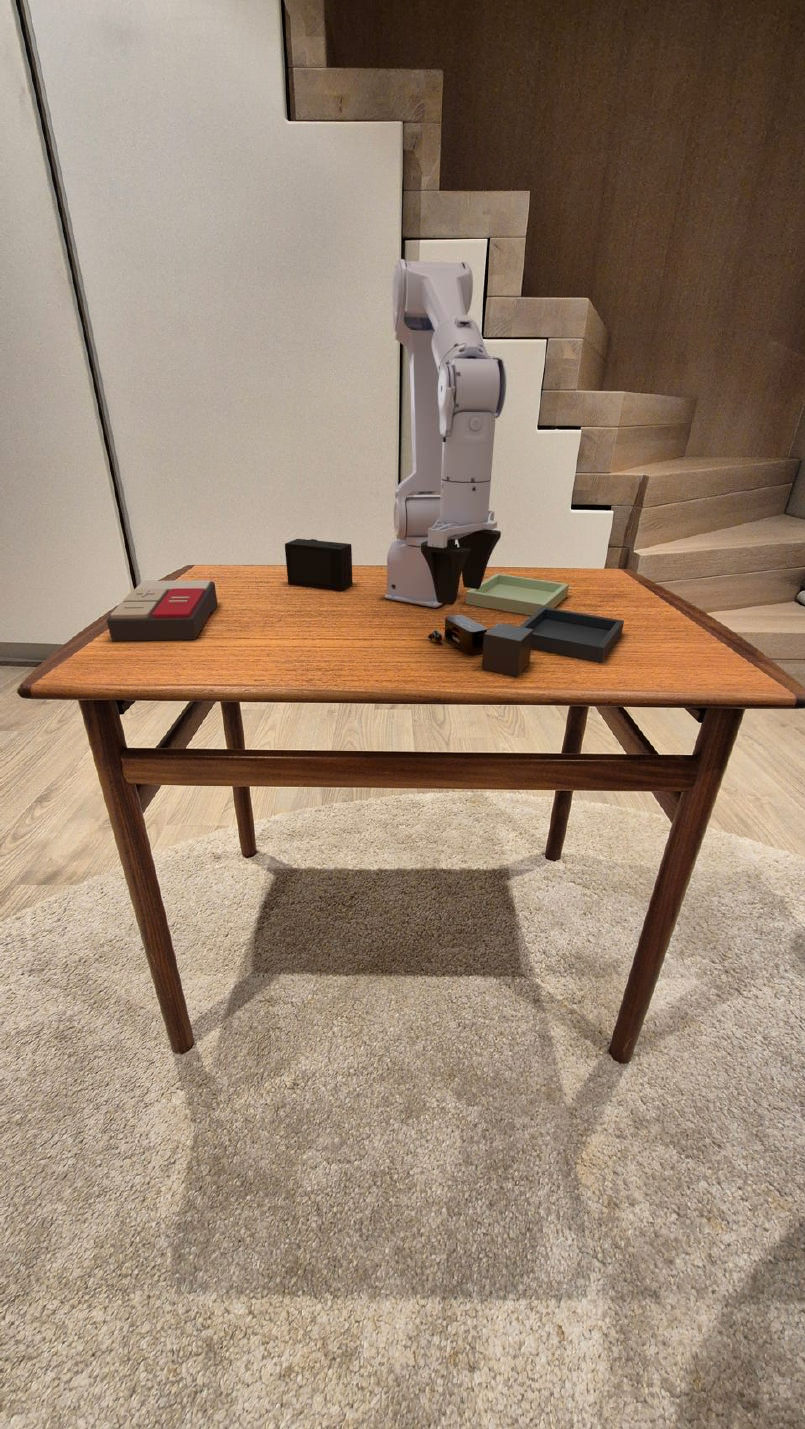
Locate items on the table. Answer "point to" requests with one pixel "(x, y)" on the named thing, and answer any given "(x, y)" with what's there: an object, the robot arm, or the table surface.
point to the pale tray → (517, 594)
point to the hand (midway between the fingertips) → (459, 595)
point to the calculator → (163, 611)
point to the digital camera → (319, 564)
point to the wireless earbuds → (462, 634)
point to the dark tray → (573, 633)
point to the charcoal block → (507, 649)
